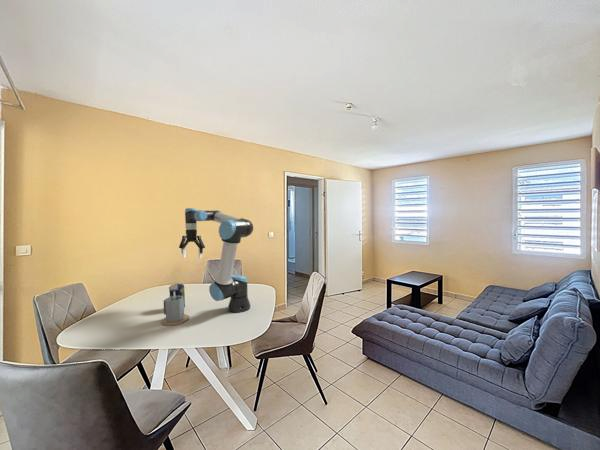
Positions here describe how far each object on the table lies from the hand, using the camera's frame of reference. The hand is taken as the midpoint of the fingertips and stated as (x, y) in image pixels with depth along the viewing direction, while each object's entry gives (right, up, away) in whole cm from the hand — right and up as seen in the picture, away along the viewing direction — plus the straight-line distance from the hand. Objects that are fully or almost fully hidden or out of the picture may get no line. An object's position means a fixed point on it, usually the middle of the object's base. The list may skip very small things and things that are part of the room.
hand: (192, 257), depth 185 cm
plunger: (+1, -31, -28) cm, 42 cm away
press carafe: (+1, -36, -27) cm, 45 cm away
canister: (-7, -35, -8) cm, 37 cm away
